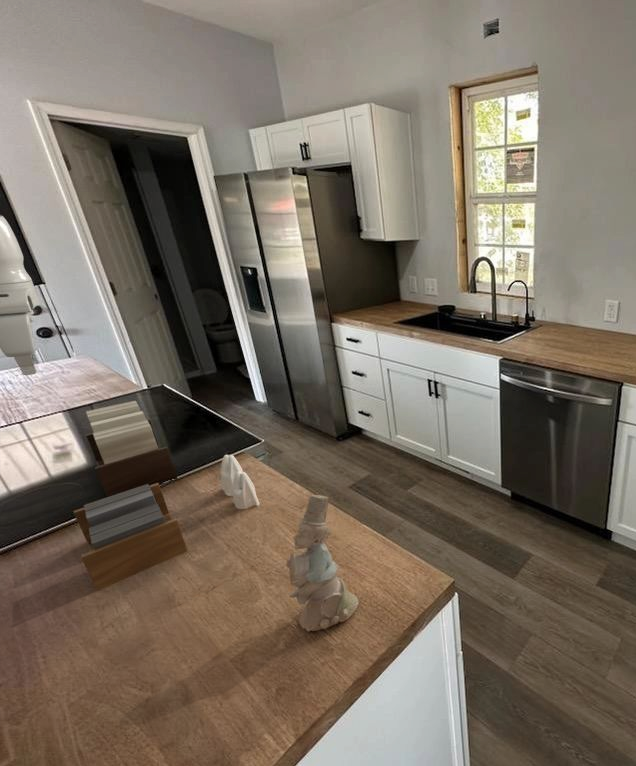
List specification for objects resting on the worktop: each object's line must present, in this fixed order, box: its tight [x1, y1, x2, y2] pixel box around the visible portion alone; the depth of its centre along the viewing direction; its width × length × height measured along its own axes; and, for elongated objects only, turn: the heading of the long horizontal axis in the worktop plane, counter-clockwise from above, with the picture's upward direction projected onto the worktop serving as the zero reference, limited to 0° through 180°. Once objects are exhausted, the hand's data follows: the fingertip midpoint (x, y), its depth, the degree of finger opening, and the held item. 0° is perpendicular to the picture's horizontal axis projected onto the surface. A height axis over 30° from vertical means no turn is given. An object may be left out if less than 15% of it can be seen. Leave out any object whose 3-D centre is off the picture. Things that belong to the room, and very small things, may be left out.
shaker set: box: [220, 454, 260, 510], centre depth 88 cm, size 12×4×11 cm, turn 49°
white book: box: [89, 410, 147, 433], centre depth 97 cm, size 2×9×13 cm, turn 138°
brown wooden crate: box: [85, 400, 178, 498], centre depth 97 cm, size 21×12×14 cm, turn 48°
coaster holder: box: [73, 483, 188, 592], centre depth 74 cm, size 16×12×10 cm
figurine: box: [285, 494, 359, 632], centre depth 62 cm, size 9×8×20 cm
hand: (29, 367), depth 81 cm, fingers open, 8 cm apart
